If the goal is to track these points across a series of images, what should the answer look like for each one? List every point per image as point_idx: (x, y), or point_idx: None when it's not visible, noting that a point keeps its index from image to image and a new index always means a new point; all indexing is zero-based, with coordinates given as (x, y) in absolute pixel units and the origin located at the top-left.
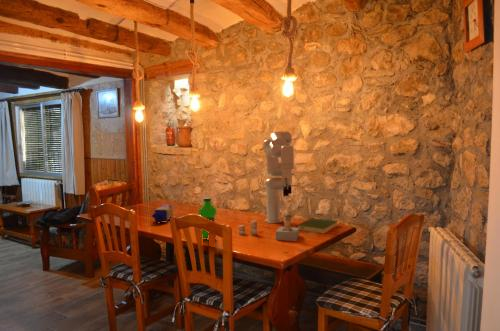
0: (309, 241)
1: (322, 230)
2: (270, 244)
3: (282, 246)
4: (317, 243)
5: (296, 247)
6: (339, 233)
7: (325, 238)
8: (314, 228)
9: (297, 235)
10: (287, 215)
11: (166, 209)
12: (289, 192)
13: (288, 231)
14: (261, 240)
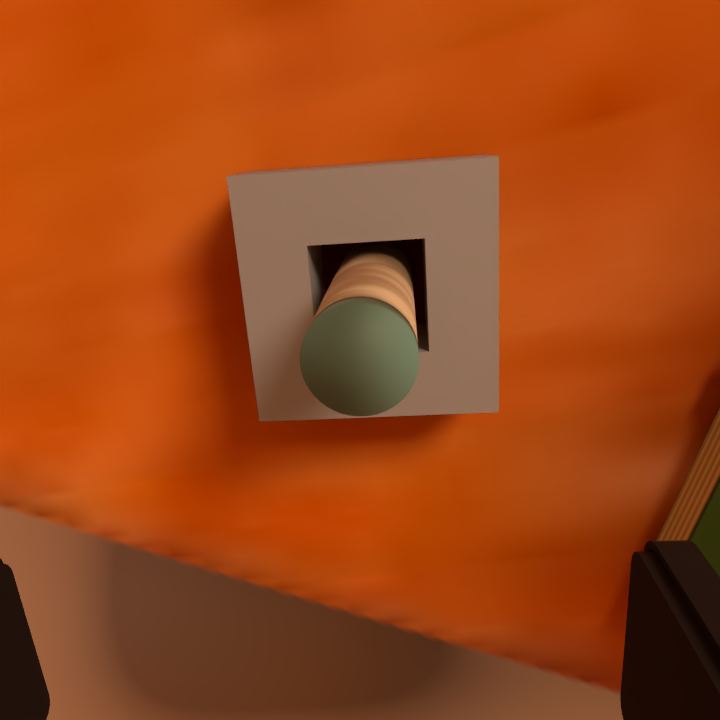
0: (305, 501)
1: None
2: (57, 166)
3: (48, 304)
4: (265, 568)
5: (76, 429)
6: None
7: (449, 610)
8: (695, 520)
9: None
10: (307, 372)
11: None
12: (635, 691)
13: (278, 331)
14: (161, 5)
